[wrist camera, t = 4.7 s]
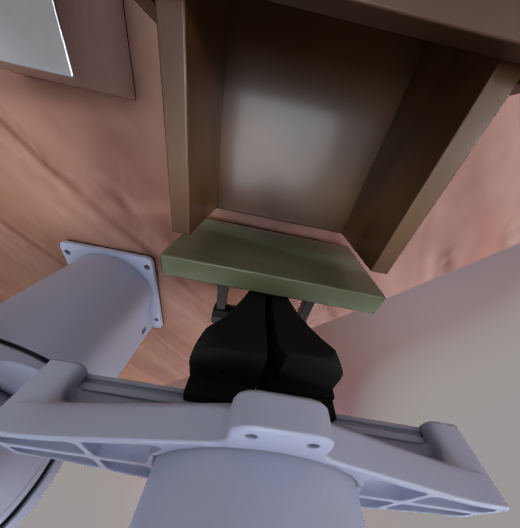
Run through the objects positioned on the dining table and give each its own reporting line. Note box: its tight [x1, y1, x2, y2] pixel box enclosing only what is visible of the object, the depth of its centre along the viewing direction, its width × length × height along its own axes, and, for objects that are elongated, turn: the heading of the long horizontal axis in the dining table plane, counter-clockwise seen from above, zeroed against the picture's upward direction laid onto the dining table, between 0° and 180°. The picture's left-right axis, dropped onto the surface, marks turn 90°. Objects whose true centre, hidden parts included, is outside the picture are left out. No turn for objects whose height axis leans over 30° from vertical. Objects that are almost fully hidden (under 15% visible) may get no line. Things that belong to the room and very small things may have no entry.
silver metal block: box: [0, 0, 135, 100], centre depth 8 cm, size 6×4×4 cm
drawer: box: [155, 0, 520, 324], centre depth 10 cm, size 18×11×6 cm, turn 169°
